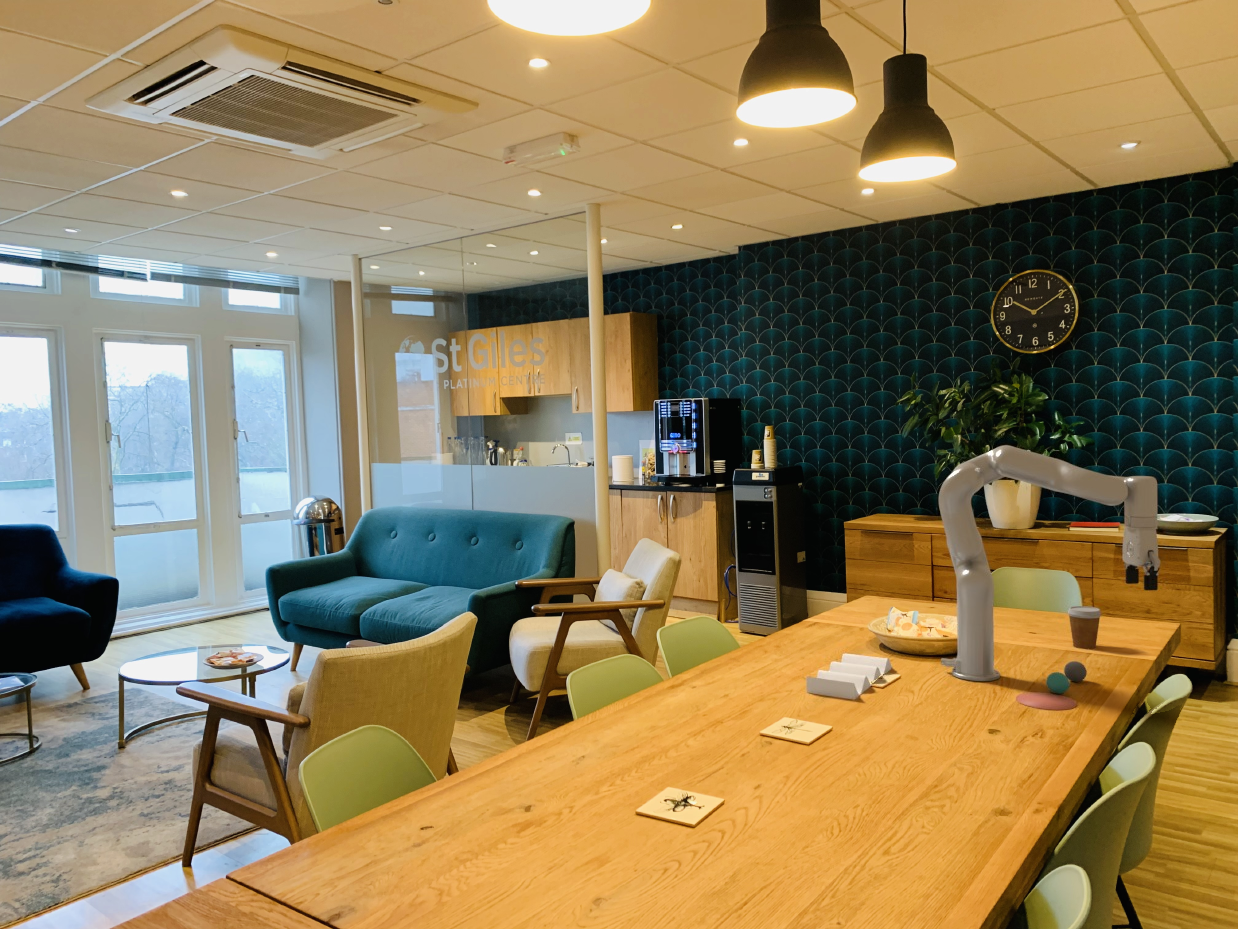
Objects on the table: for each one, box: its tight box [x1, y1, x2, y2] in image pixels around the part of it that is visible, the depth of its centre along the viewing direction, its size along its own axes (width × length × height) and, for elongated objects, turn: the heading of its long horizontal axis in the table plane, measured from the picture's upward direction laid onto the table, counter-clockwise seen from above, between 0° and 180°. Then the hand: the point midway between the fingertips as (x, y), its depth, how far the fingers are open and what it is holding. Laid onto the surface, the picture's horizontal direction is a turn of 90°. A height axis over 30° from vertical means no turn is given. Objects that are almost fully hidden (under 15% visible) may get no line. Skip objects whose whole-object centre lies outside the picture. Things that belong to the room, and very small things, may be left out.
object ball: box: [1045, 671, 1071, 695], centre depth 234 cm, size 6×6×6 cm
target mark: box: [1015, 691, 1077, 711], centre depth 228 cm, size 14×14×1 cm
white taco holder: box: [805, 652, 893, 700], centre depth 251 cm, size 13×35×5 cm, turn 147°
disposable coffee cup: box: [1067, 605, 1102, 650], centre depth 280 cm, size 10×10×12 cm
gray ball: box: [1063, 660, 1088, 683], centre depth 244 cm, size 6×6×6 cm
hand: (1141, 586), depth 237 cm, fingers open, 9 cm apart
